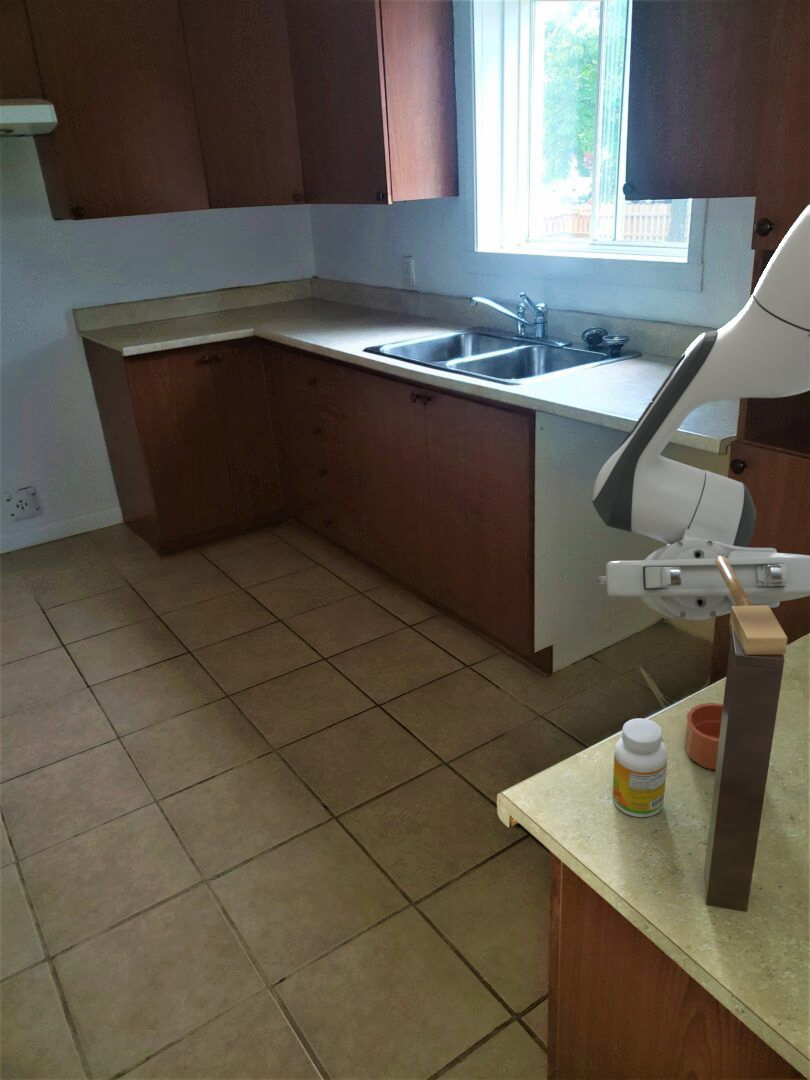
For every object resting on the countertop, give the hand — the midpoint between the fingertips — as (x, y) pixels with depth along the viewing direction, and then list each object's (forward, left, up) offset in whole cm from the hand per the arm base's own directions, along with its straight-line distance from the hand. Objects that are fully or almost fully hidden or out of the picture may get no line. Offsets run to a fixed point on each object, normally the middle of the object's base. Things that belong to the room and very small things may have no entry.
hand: (725, 575), depth 75 cm
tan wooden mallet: (-1, +5, 0) cm, 5 cm away
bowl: (-2, -9, -28) cm, 30 cm away
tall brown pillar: (-2, +11, -28) cm, 30 cm away
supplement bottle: (+7, 0, -28) cm, 29 cm away
